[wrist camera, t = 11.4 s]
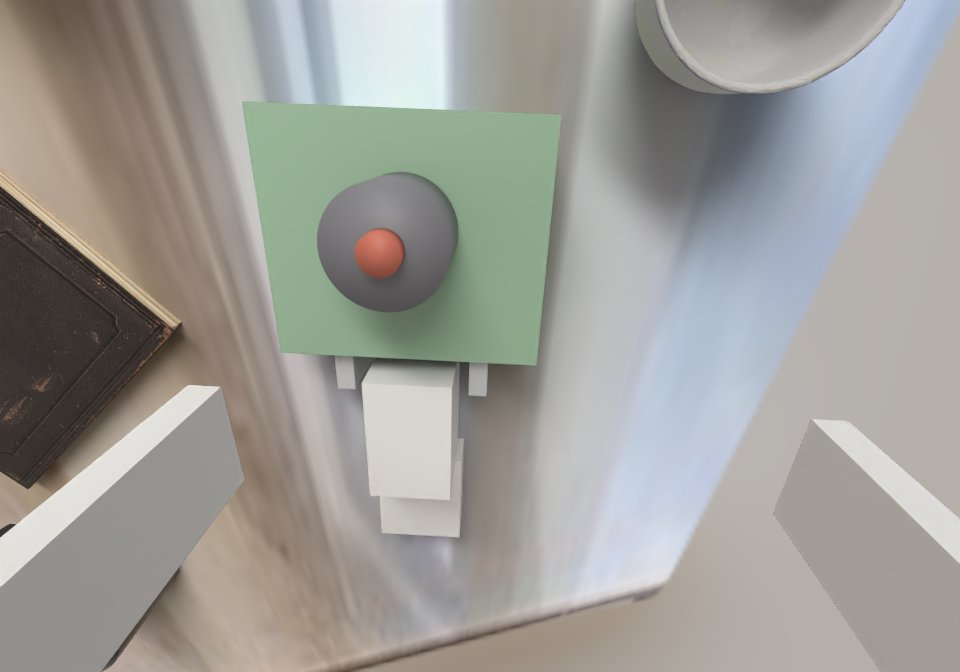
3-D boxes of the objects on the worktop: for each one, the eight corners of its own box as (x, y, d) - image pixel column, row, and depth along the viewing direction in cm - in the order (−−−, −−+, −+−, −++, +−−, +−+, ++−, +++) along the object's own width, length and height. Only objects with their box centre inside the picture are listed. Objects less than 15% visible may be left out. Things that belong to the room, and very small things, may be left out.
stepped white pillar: (461, 510, 41) (455, 579, 35) (389, 506, 41) (369, 574, 35) (467, 341, 34) (460, 388, 28) (380, 337, 34) (353, 382, 28)
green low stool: (549, 119, 28) (582, 107, 17) (526, 364, 35) (540, 468, 24) (291, 108, 28) (160, 90, 17) (320, 353, 35) (238, 452, 24)
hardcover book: (192, 321, 35) (172, 332, 33) (51, 471, 42) (27, 489, 40) (-7, 153, 31) (-44, 154, 28) (-129, 352, 37) (-166, 365, 35)
